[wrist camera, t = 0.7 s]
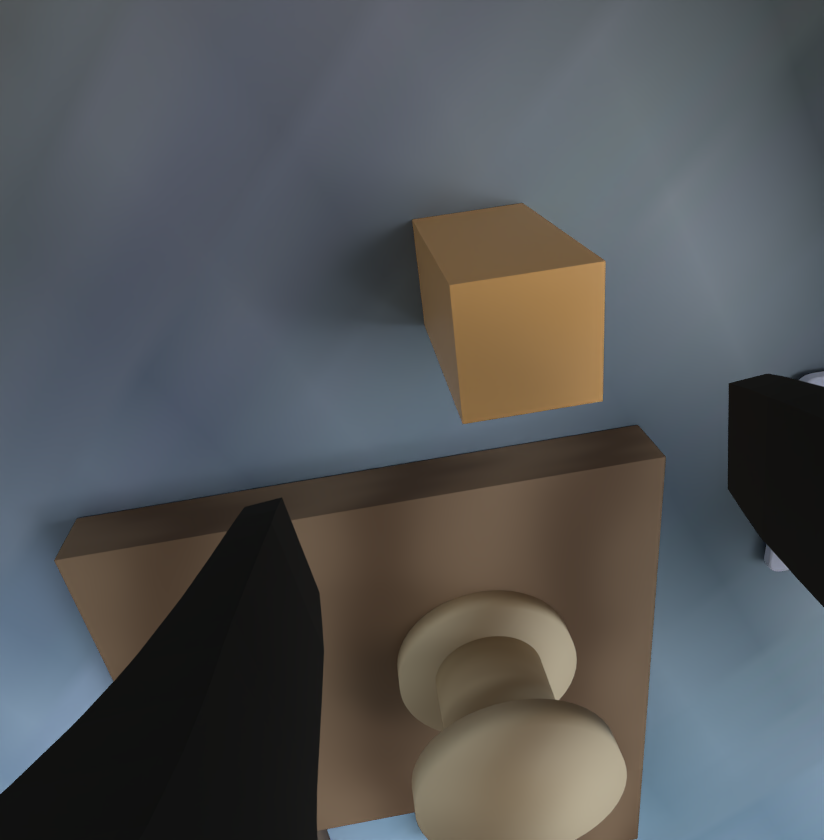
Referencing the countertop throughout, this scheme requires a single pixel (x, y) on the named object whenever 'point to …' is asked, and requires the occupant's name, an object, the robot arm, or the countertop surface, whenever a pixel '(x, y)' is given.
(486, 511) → the notched board
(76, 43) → the countertop surface
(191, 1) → the countertop surface
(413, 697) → the mushroom shaped handle
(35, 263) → the countertop surface
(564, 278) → the block
